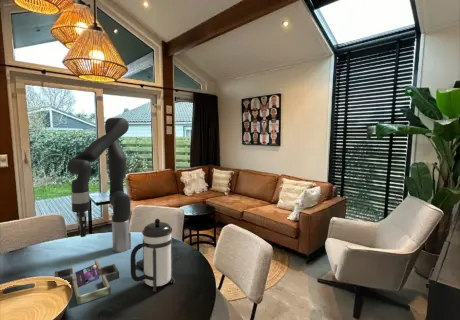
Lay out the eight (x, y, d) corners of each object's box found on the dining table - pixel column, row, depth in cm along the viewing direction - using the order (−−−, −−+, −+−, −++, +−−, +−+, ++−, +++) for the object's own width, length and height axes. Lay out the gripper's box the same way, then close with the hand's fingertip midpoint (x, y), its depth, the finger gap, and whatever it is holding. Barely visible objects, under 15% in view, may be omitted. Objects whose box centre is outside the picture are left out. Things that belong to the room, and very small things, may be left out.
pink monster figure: (76, 272, 113) (96, 264, 120) (71, 272, 116) (91, 264, 123) (79, 287, 112) (99, 278, 120) (74, 287, 115) (94, 278, 123)
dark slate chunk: (131, 266, 132) (131, 257, 132) (164, 250, 150) (164, 242, 150) (151, 275, 124) (151, 266, 123) (183, 257, 142) (183, 249, 142)
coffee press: (145, 273, 125) (144, 213, 122) (178, 274, 124) (178, 213, 121) (130, 296, 108) (128, 226, 105) (168, 297, 107) (168, 227, 104)
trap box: (109, 261, 136) (109, 255, 136) (125, 288, 112) (125, 282, 112) (54, 276, 121) (54, 269, 121) (59, 311, 98) (59, 303, 98)
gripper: (92, 203, 121) (93, 237, 122) (87, 196, 132) (88, 228, 134) (73, 205, 116) (74, 241, 118) (70, 198, 128) (71, 231, 129)
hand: (81, 234), depth 126 cm, fingers open, 7 cm apart
